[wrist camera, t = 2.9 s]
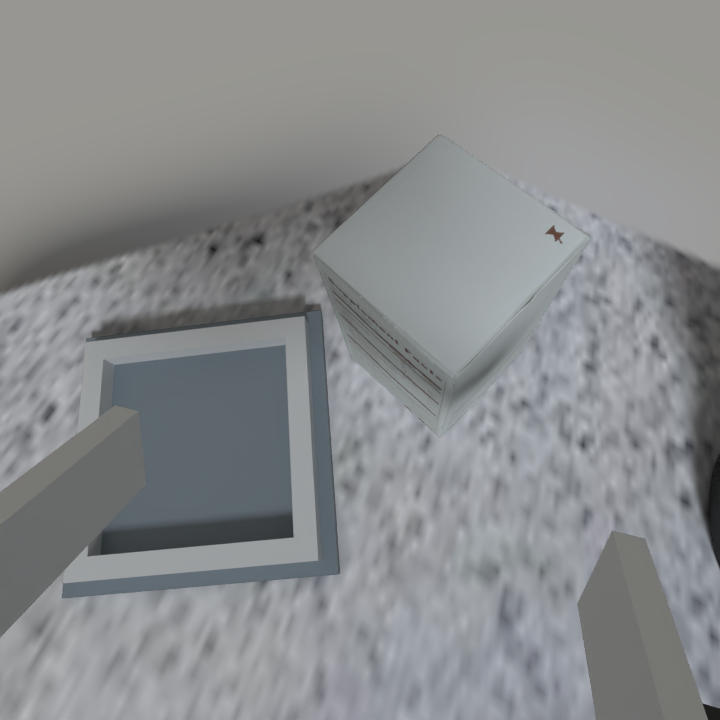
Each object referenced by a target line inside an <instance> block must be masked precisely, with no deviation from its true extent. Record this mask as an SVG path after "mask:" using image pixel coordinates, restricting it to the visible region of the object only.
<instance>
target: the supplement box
mask: <svg viewBox="0 0 720 720" xmlns="http://www.w3.org/2000/svg"><path fill="white" fill-rule="evenodd" d="M589 241H590V236H589V235H588V234H586V233H585V232H583V231H581V230H580V229H578V228H577V227H575V226H574V225H572V224H571V223H570V222H569V221H567V220H566V219H564V218H563V217H561V216H560V215H559V214H557V213H556V212H554V211H553V210H551V209H550V208H549V207H547V206H546V205H544V204H543V203H541V202H540V201H538V200H537V199H535V198H534V197H532V196H531V195H530V194H528V193H527V192H525V191H524V190H522V189H521V188H520V187H518V186H517V185H515V184H514V183H512V182H511V181H509V180H508V179H506V178H505V177H503V176H502V175H501V174H499V173H498V172H496V171H495V170H493V169H492V168H490V167H489V166H487V165H486V164H484V163H483V162H482V161H480V160H479V159H477V158H476V157H474V156H473V155H471V154H470V153H469V152H467V151H466V150H464V149H463V148H461V147H460V146H458V145H457V144H455V143H454V142H452V141H451V140H449V139H448V138H446V137H444V136H442V135H437V136H436V137H435V138H434V139H433V140H432V141H431V142H430V143H429V144H428V145H427V146H426V147H424V148H423V149H422V150H421V151H420V152H419V153H418V154H417V155H416V156H415V157H414V158H413V159H412V160H410V161H409V162H408V163H407V164H406V165H405V166H404V167H403V168H402V169H401V170H400V171H398V172H397V173H396V174H395V175H394V176H393V177H392V178H391V179H390V180H389V181H388V182H387V183H385V184H384V185H383V186H382V187H381V188H380V189H379V190H378V191H377V192H376V193H375V194H374V195H373V196H371V197H370V198H369V199H368V200H367V201H366V202H365V203H364V204H363V205H362V206H361V207H360V208H359V209H358V210H356V211H355V212H354V213H353V214H352V215H351V216H350V217H349V218H348V219H347V220H346V221H344V222H343V223H342V224H341V225H340V226H339V227H338V228H337V229H336V230H335V231H334V232H332V233H331V234H330V235H329V236H328V237H327V238H326V239H325V240H324V241H323V242H322V243H321V244H320V245H318V246H317V247H316V248H315V249H314V250H313V255H314V257H315V260H316V263H317V266H318V268H319V271H320V274H321V276H322V279H323V282H324V285H325V287H326V290H327V293H328V295H329V298H330V300H331V303H332V306H333V308H334V311H335V314H336V317H337V319H338V322H339V325H340V328H341V331H342V334H343V336H344V339H345V342H346V345H347V347H348V350H349V353H350V355H351V357H352V358H353V359H354V360H355V361H356V362H357V363H358V364H360V365H361V366H362V367H363V368H364V369H365V370H366V371H367V372H368V373H369V374H371V375H372V376H373V377H374V378H375V379H376V380H377V381H378V382H379V383H380V384H381V385H383V386H384V387H385V388H386V389H387V390H388V391H389V392H390V393H391V394H392V395H393V396H395V397H396V398H397V399H398V400H399V401H400V402H401V403H402V404H403V405H404V406H405V407H406V408H408V409H409V410H410V411H411V412H412V413H413V414H414V415H415V416H416V417H417V418H418V419H420V420H421V421H422V422H423V423H424V424H425V425H426V426H427V427H428V428H429V429H431V430H432V431H433V432H434V433H435V434H436V435H437V436H438V437H441V436H442V435H443V434H445V433H446V432H447V431H448V430H449V429H450V428H451V427H452V426H453V425H454V424H455V423H456V422H457V420H458V419H459V418H460V417H461V416H462V415H463V414H464V413H465V412H466V411H467V410H468V409H469V408H470V407H471V406H472V405H473V404H474V403H475V402H476V401H477V400H478V399H479V398H480V397H481V396H482V395H483V394H484V392H485V391H486V390H487V389H488V388H489V387H490V386H491V385H492V384H493V383H494V381H495V380H496V379H497V378H498V377H499V376H500V375H501V374H502V373H503V372H504V370H505V369H506V368H507V367H508V366H509V365H510V364H511V363H512V362H513V361H514V359H515V358H516V357H517V356H518V355H519V354H520V353H521V351H522V349H523V347H524V346H525V344H526V343H527V341H528V340H529V338H530V336H531V334H532V333H533V331H534V330H535V328H536V326H537V325H538V323H539V322H540V320H541V318H542V317H543V315H544V314H545V312H546V310H547V309H548V307H549V306H550V304H551V302H552V301H553V299H554V297H555V296H556V294H557V293H558V291H559V290H560V288H561V286H562V285H563V283H564V281H565V280H566V278H567V277H568V275H569V273H570V272H571V270H572V268H573V267H574V265H575V264H576V262H577V260H578V259H579V257H580V256H581V254H582V252H583V251H584V249H585V247H586V246H587V244H588V243H589Z"/></svg>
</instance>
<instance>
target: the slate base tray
mask: <svg viewBox="0 0 720 720" xmlns="http://www.w3.org/2000/svg"><path fill="white" fill-rule="evenodd" d="M115 405H116V406H120V407H124V408H128V409H132V410H136V411H139V420H140V429H141V438H142V447H143V456H144V465H145V474H146V483H147V484H146V485H145V486H144V487H143V488H142V489H141V490H140V491H139V492H138V494H137V495H136V496H135V497H134V498H133V499H132V500H131V501H130V502H129V503H128V504H127V505H126V506H125V507H124V508H123V509H122V510H121V511H120V512H119V513H118V514H117V516H116V517H115V518H114V519H113V520H112V521H111V522H110V523H109V524H108V525H107V526H106V527H105V528H104V529H103V530H102V531H101V532H100V533H99V534H98V535H97V537H96V538H95V539H94V540H93V541H92V542H91V543H90V544H89V545H88V546H87V547H86V548H85V549H84V550H83V551H82V552H81V553H80V554H79V555H78V556H77V557H76V559H75V560H74V561H73V562H72V563H71V564H70V565H69V566H68V567H67V568H66V569H65V570H64V579H63V593H62V598H72V597H83V596H95V595H106V594H118V593H129V592H141V591H152V590H164V589H175V588H187V587H198V586H210V585H221V584H233V583H244V582H256V581H267V580H279V579H290V578H302V577H313V576H325V575H336V574H340V566H339V552H338V537H337V523H336V508H335V494H334V479H333V465H332V450H331V436H330V421H329V407H328V392H327V378H326V363H325V349H324V334H323V319H322V313H321V310H319V311H310V312H302V313H294V314H285V315H277V316H269V317H261V318H252V319H244V320H236V321H227V322H219V323H211V324H202V325H194V326H186V327H177V328H169V329H161V330H152V331H144V332H136V333H128V334H119V335H111V336H103V337H94V338H86V346H85V356H84V367H83V377H82V388H81V399H80V409H79V420H78V430H77V434H78V433H79V432H80V431H82V430H83V429H84V428H86V427H87V426H88V425H90V424H91V423H92V422H94V421H95V420H96V419H98V418H99V417H100V416H102V415H103V414H104V413H106V412H107V411H108V410H110V409H111V408H112V407H114V406H115Z"/></svg>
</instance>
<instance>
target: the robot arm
mask: <svg viewBox="0 0 720 720" xmlns="http://www.w3.org/2000/svg"><path fill="white" fill-rule="evenodd" d="M146 484H147V483H146V474H145V465H144V456H143V447H142V438H141V429H140V420H139V411H136V410H132V409H128V408H124V407H120V406H116V405H115V406H114V407H112V408H111V409H110V410H108V411H107V412H106V413H104V414H103V415H102V416H100V417H99V418H98V419H96V420H95V421H94V422H92V423H91V424H90V425H88V426H87V427H86V428H84V429H83V430H82V431H80V432H79V433H78V434H77V435H75V436H74V437H73V438H71V439H70V440H69V441H67V442H66V443H65V444H63V445H62V446H61V447H59V448H58V449H57V450H55V451H54V452H53V453H51V454H50V455H49V456H47V457H46V458H45V459H43V460H42V461H41V462H40V463H38V464H37V465H36V466H34V467H33V468H32V469H30V470H29V471H28V472H26V473H25V474H24V475H22V476H21V477H20V478H18V479H17V480H16V481H14V482H13V483H12V484H10V485H9V486H8V487H6V488H5V489H4V490H3V491H1V492H0V637H1V636H2V635H3V634H4V633H5V632H6V631H7V630H8V629H9V628H10V627H11V626H12V625H13V624H14V622H15V621H16V620H17V619H18V618H19V617H20V616H21V615H22V614H23V613H24V612H25V611H26V610H27V609H28V608H29V607H30V606H31V605H32V604H33V603H34V602H35V600H36V599H37V598H38V597H39V596H40V595H41V594H42V593H43V592H44V591H45V590H46V589H47V588H48V587H49V586H50V585H51V584H52V583H53V582H54V581H55V580H56V578H57V577H58V576H59V575H60V574H61V573H62V572H63V571H64V570H65V569H66V568H67V567H68V566H69V565H70V564H71V563H72V562H73V561H74V560H75V559H76V557H77V556H78V555H79V554H80V553H81V552H82V551H83V550H84V549H85V548H86V547H87V546H88V545H89V544H90V543H91V542H92V541H93V540H94V539H95V538H96V537H97V535H98V534H99V533H100V532H101V531H102V530H103V529H104V528H105V527H106V526H107V525H108V524H109V523H110V522H111V521H112V520H113V519H114V518H115V517H116V516H117V514H118V513H119V512H120V511H121V510H122V509H123V508H124V507H125V506H126V505H127V504H128V503H129V502H130V501H131V500H132V499H133V498H134V497H135V496H136V495H137V494H138V492H139V491H140V490H141V489H142V488H143V487H144V486H145V485H146ZM709 517H710V526H711V532H712V538H713V542H714V546H715V550H716V553H717V556H718V559H719V562H720V455H719V458H718V460H717V463H716V466H715V469H714V472H713V476H712V481H711V487H710V496H709ZM578 610H579V616H580V622H581V628H582V634H583V640H584V647H585V653H586V659H587V665H588V671H589V677H590V683H591V689H592V696H593V702H594V708H595V714H596V720H720V709H719V708H715V707H712V706H709V705H705V704H702V701H701V698H700V695H699V692H698V689H697V687H696V684H695V681H694V678H693V675H692V672H691V669H690V666H689V664H688V661H687V658H686V655H685V652H684V649H683V646H682V643H681V641H680V638H679V635H678V632H677V629H676V626H675V623H674V620H673V618H672V615H671V612H670V609H669V606H668V603H667V600H666V597H665V595H664V592H663V589H662V586H661V583H660V580H659V577H658V574H657V572H656V569H655V566H654V563H653V560H652V557H651V554H650V551H649V549H648V546H647V543H646V540H645V539H644V538H640V537H636V536H632V535H628V534H624V533H620V532H616V531H612V532H611V535H610V537H609V539H608V541H607V543H606V545H605V547H604V549H603V551H602V553H601V556H600V558H599V560H598V562H597V564H596V566H595V568H594V570H593V572H592V574H591V577H590V579H589V581H588V583H587V585H586V587H585V589H584V591H583V593H582V596H581V598H580V600H579V602H578Z"/></svg>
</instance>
